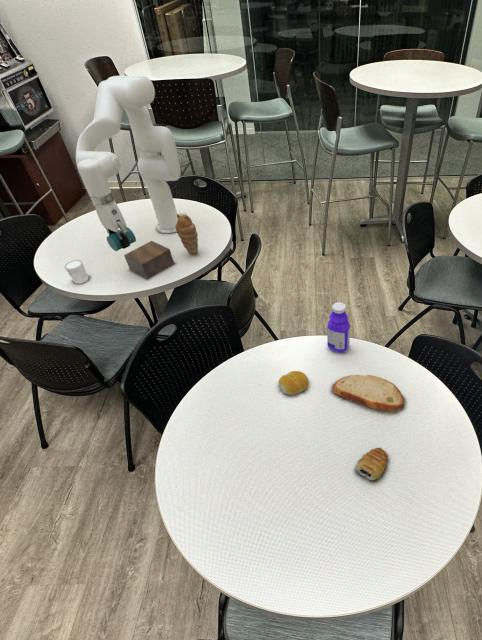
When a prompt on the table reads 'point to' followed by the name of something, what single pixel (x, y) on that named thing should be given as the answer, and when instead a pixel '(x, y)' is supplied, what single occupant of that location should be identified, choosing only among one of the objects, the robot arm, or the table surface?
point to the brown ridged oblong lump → (187, 233)
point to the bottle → (338, 329)
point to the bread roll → (293, 382)
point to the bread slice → (370, 392)
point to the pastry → (372, 464)
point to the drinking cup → (114, 239)
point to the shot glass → (77, 271)
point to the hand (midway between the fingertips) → (121, 244)
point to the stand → (149, 259)
